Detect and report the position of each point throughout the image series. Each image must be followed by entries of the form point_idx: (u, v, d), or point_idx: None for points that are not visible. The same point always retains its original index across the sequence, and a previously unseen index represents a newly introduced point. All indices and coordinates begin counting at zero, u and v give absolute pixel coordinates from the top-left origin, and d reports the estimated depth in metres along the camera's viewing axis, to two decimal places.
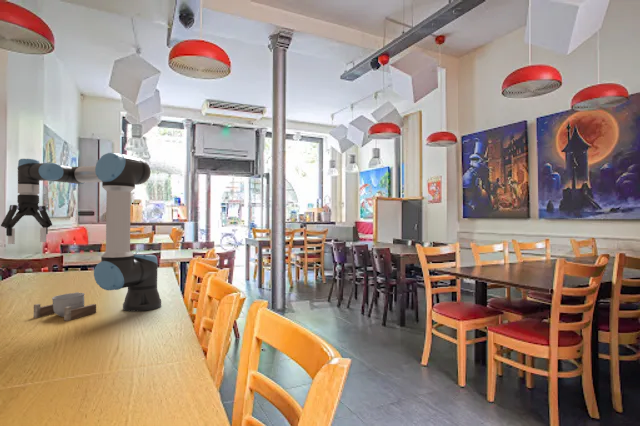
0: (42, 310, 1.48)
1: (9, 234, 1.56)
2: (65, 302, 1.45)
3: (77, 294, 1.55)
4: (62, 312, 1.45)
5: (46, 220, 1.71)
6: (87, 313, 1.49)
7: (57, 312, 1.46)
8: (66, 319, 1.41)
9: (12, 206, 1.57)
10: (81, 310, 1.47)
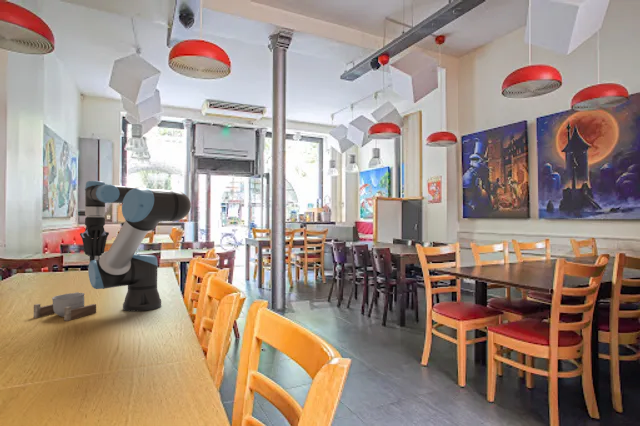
0: (42, 310, 1.48)
1: None
2: (65, 302, 1.45)
3: (77, 294, 1.55)
4: (62, 312, 1.45)
5: (101, 246, 1.66)
6: (87, 313, 1.49)
7: (57, 312, 1.46)
8: (66, 319, 1.41)
9: (83, 235, 1.57)
10: (81, 310, 1.47)
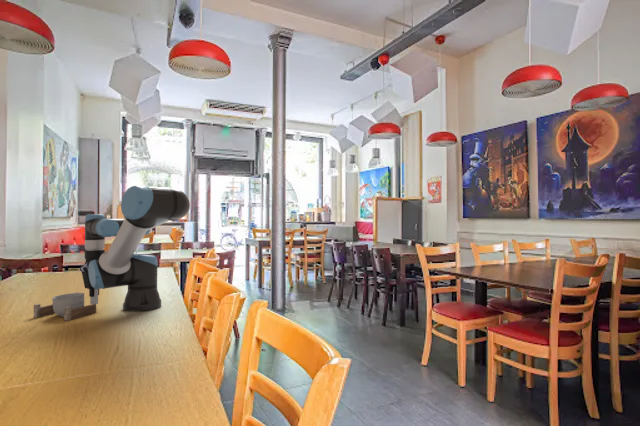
0: (42, 310, 1.48)
1: (92, 295, 1.61)
2: (65, 302, 1.45)
3: (77, 294, 1.55)
4: (62, 312, 1.45)
5: None
6: (87, 313, 1.49)
7: (57, 312, 1.46)
8: (66, 319, 1.41)
9: (82, 269, 1.57)
10: (81, 310, 1.47)
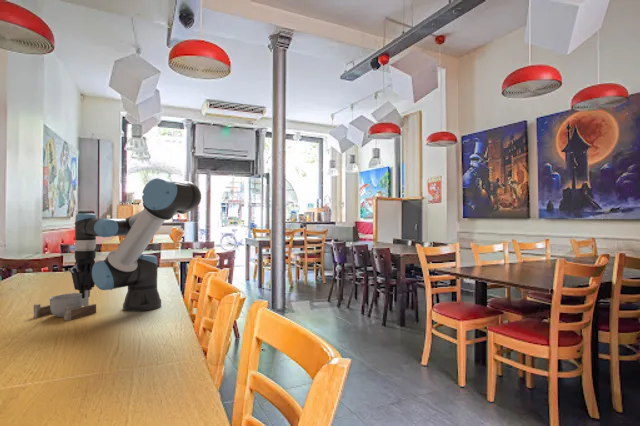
0: (42, 310, 1.48)
1: (82, 296, 1.57)
2: (63, 302, 1.44)
3: (74, 294, 1.54)
4: (60, 312, 1.44)
5: (91, 280, 1.61)
6: (87, 313, 1.49)
7: (55, 313, 1.44)
8: (66, 319, 1.41)
9: (72, 270, 1.52)
10: (81, 310, 1.47)
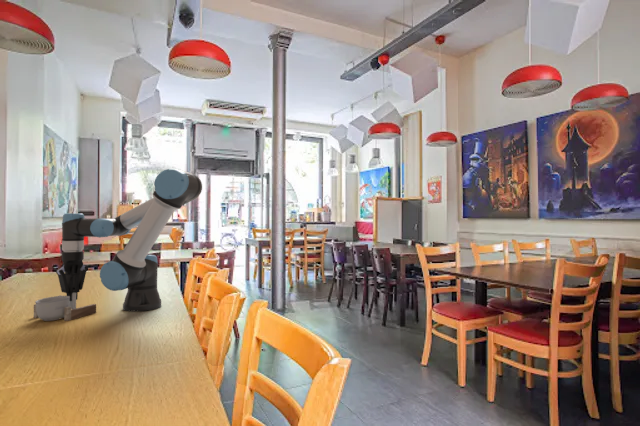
0: None
1: (70, 299, 1.51)
2: (51, 305, 1.39)
3: (61, 297, 1.49)
4: (48, 316, 1.39)
5: (79, 282, 1.56)
6: (87, 313, 1.49)
7: (42, 316, 1.39)
8: (66, 319, 1.41)
9: (59, 272, 1.47)
10: (81, 310, 1.47)
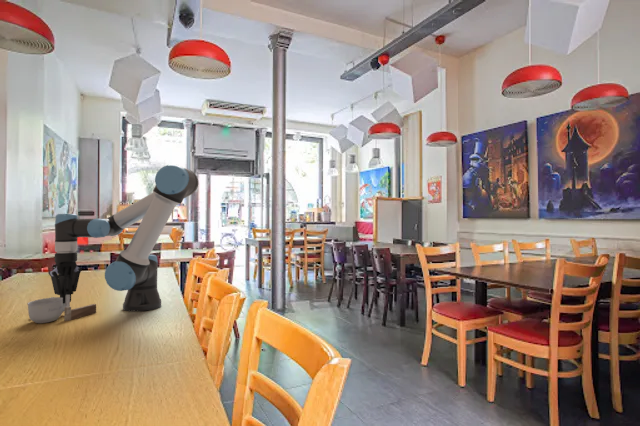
0: None
1: (63, 301, 1.48)
2: (44, 307, 1.36)
3: (53, 299, 1.46)
4: (40, 318, 1.36)
5: (73, 283, 1.53)
6: (87, 313, 1.49)
7: (34, 318, 1.36)
8: (66, 319, 1.41)
9: (52, 274, 1.44)
10: (81, 310, 1.47)
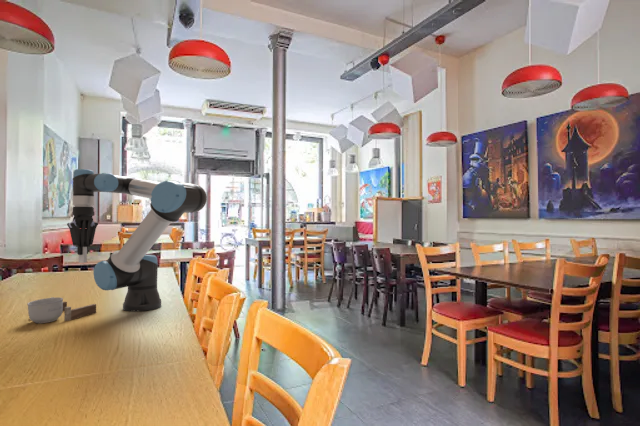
0: None
1: (81, 253, 1.55)
2: (44, 308, 1.36)
3: (53, 299, 1.46)
4: (40, 318, 1.36)
5: (90, 237, 1.60)
6: (87, 313, 1.49)
7: (34, 319, 1.36)
8: (66, 319, 1.41)
9: (70, 225, 1.51)
10: (81, 310, 1.47)
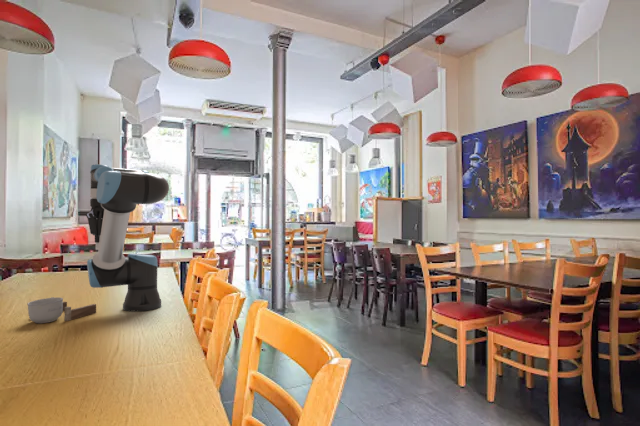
0: None
1: (97, 241, 1.70)
2: (44, 308, 1.36)
3: (53, 299, 1.46)
4: (40, 318, 1.36)
5: None
6: (87, 313, 1.49)
7: (34, 319, 1.36)
8: (66, 319, 1.41)
9: (88, 215, 1.66)
10: (81, 310, 1.47)
